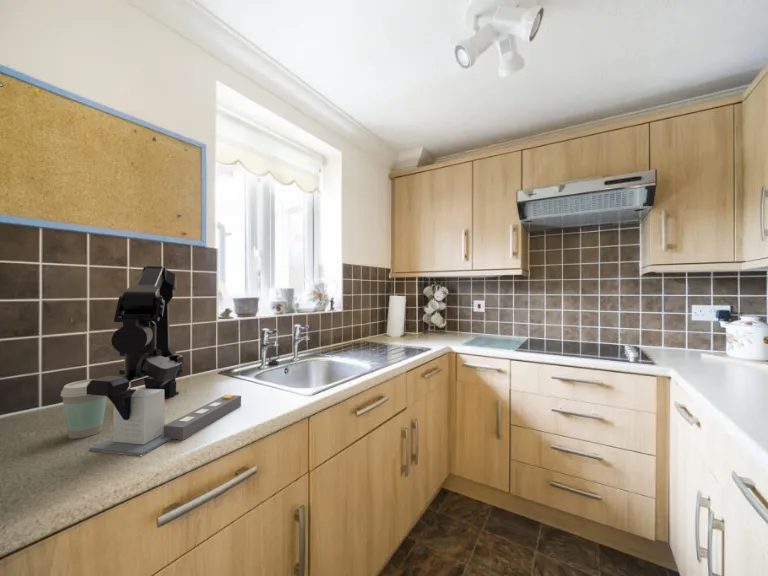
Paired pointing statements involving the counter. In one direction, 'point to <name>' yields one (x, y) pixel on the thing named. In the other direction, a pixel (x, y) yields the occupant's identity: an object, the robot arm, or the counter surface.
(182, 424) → the power strip
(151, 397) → the small box
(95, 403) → the coffee cup
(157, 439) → the rubber mat
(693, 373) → the counter surface
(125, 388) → the robot arm
